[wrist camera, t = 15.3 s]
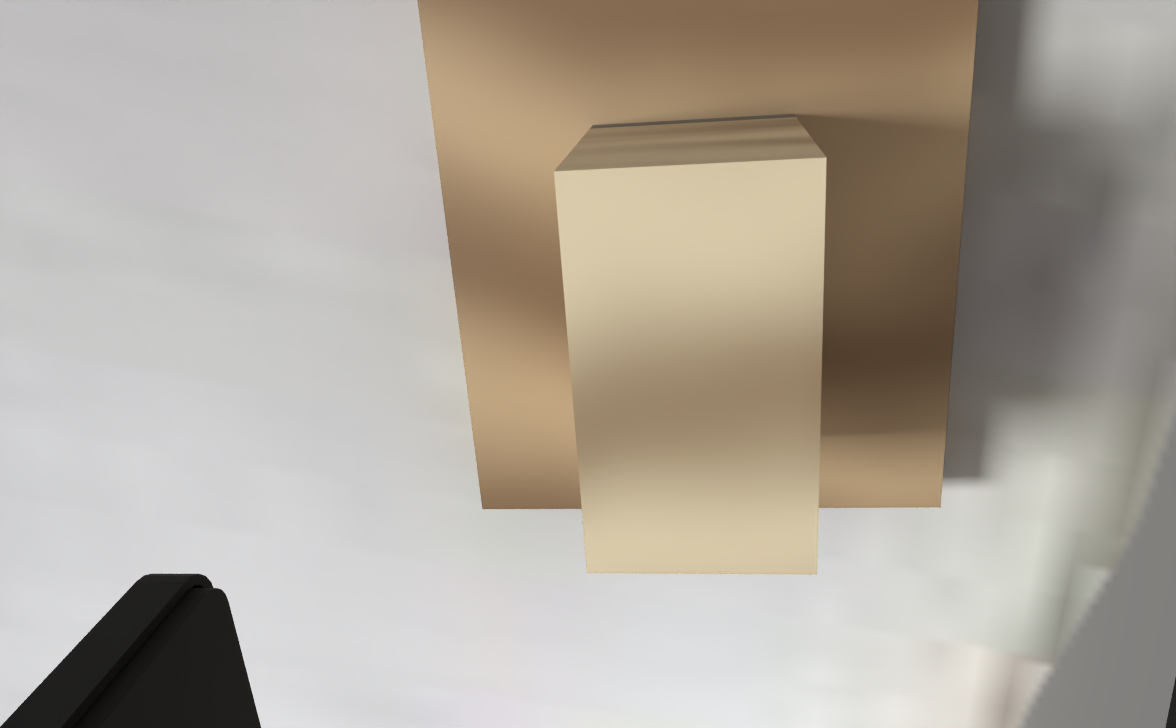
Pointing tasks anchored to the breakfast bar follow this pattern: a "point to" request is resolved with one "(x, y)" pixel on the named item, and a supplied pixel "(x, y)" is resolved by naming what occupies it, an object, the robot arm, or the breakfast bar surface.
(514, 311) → the plank
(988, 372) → the breakfast bar surface
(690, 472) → the block
